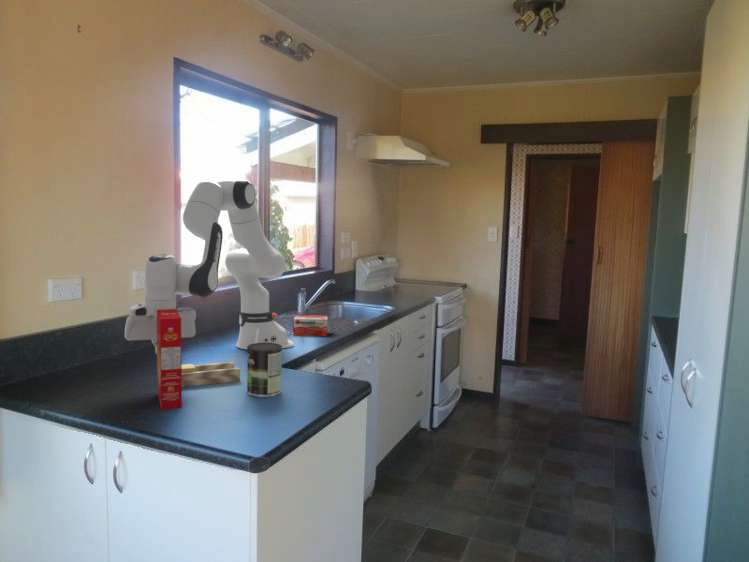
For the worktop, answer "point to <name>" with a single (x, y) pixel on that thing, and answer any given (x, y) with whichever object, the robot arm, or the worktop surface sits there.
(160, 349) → the food packaging
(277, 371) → the coffee can
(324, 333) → the medicine box
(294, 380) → the worktop surface
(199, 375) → the u-shaped frame
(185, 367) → the block
